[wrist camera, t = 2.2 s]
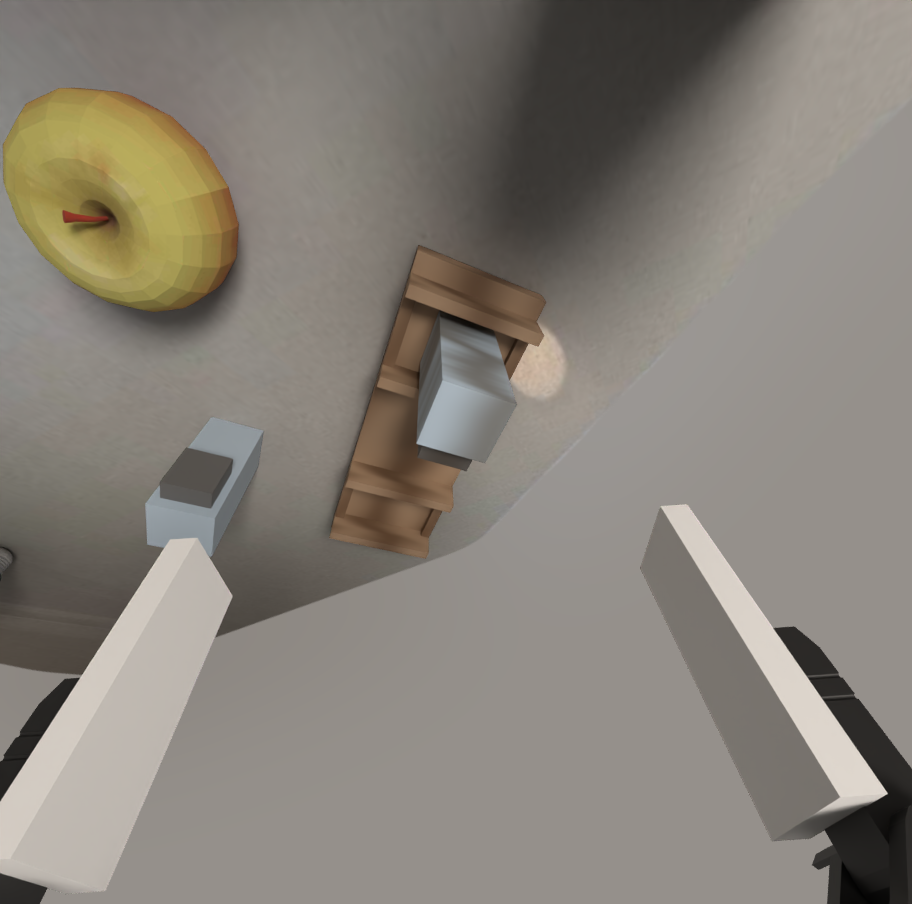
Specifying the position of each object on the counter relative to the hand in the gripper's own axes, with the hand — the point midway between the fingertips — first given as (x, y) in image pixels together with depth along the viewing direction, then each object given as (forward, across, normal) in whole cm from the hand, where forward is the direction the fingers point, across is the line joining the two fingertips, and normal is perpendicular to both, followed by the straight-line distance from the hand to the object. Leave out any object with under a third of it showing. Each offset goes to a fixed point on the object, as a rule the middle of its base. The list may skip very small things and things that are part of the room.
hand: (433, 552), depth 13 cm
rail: (+22, -2, -9) cm, 24 cm away
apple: (+22, -15, +8) cm, 28 cm away
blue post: (+22, -17, -10) cm, 30 cm away
